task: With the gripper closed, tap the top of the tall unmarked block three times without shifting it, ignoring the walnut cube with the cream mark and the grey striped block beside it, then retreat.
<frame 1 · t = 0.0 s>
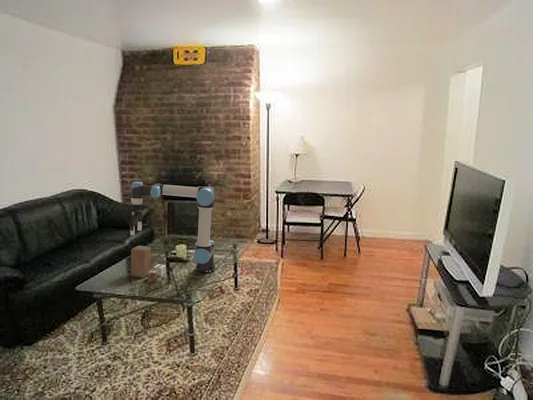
hand: (136, 232, 267), 28 cm above the table, fingers open, 13 cm apart
marked walnut cube: (152, 280, 255), on the table
block: (140, 275, 262), on the table
striped grey block: (159, 274, 267), on the table
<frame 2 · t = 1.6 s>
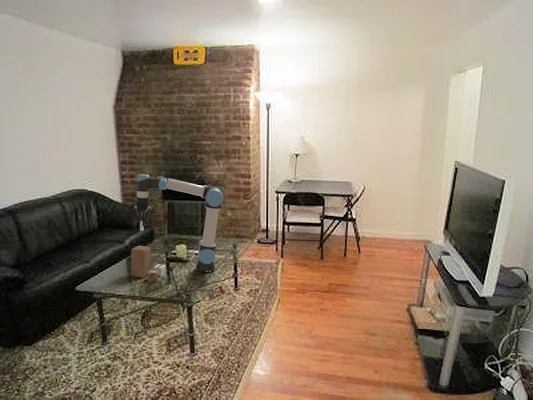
hand: (141, 230, 257), 32 cm above the table, fingers closed
nothing on the table moved.
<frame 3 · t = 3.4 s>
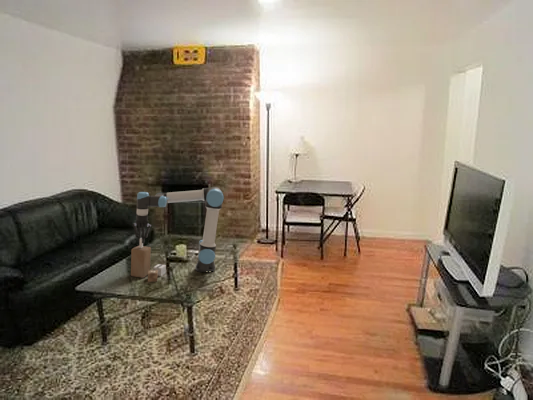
hand: (141, 247, 259), 20 cm above the table, fingers closed
block: (140, 275, 262), on the table, touching gripper
everything else where it was.
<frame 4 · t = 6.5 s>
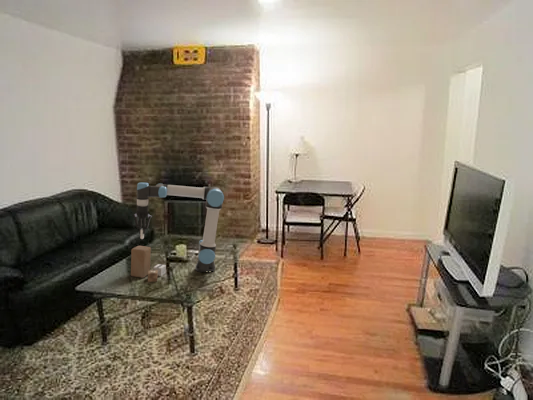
hand: (142, 238, 258), 27 cm above the table, fingers closed
block: (140, 275, 262), on the table
everything else where it was.
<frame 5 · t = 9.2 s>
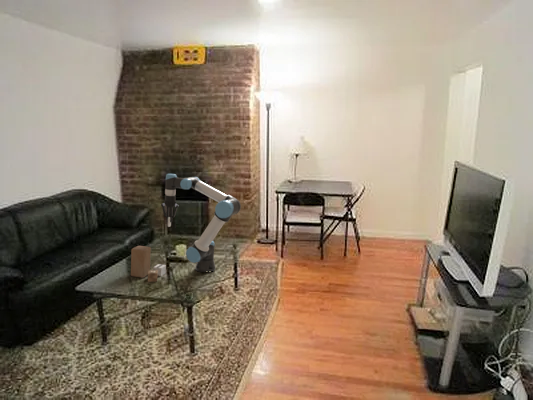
hand: (169, 226, 275), 32 cm above the table, fingers closed
nothing on the table moved.
at the end: block moved 0.2 cm from its start; block tilted 0°; block touching table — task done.
